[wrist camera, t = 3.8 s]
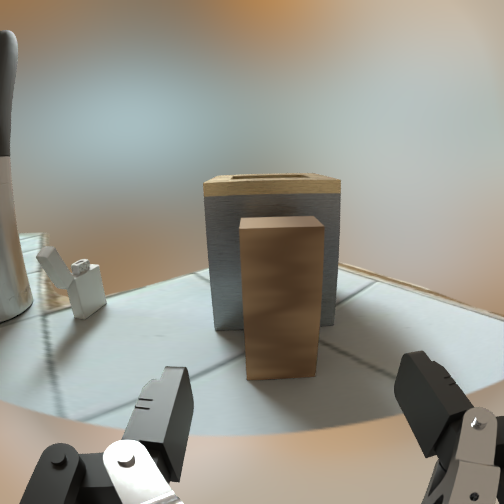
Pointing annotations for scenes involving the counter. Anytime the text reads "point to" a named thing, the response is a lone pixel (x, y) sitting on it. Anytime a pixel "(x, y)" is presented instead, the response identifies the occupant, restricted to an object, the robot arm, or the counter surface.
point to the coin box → (265, 205)
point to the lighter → (75, 281)
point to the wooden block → (281, 295)
